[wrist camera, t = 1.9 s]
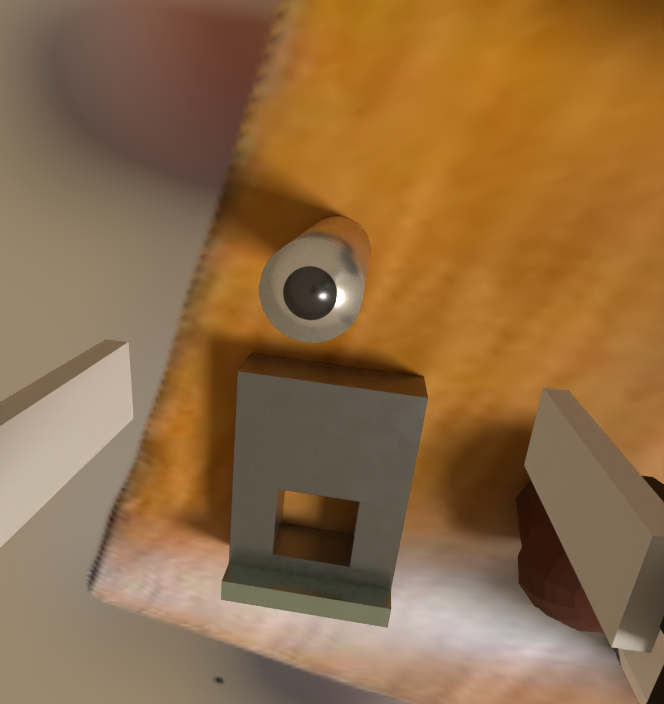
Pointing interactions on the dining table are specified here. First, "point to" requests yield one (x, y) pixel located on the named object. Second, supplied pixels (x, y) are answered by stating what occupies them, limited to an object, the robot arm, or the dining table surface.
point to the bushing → (317, 281)
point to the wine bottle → (642, 668)
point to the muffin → (550, 568)
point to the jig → (321, 484)
